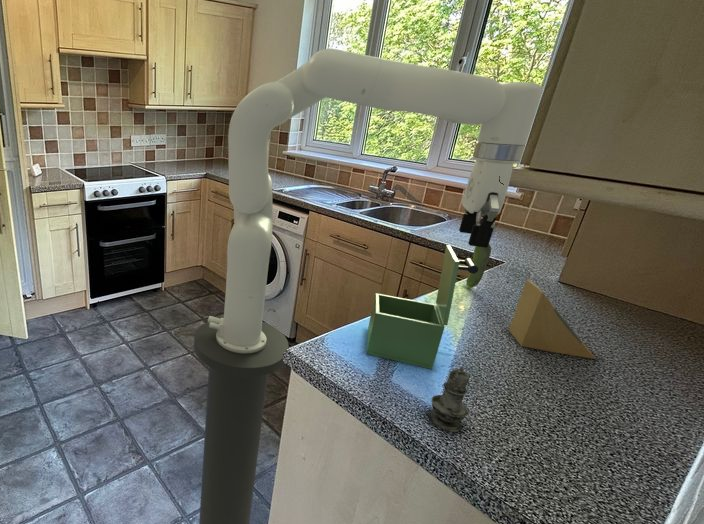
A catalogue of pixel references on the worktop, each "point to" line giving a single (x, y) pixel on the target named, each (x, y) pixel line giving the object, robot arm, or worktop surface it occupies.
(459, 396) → the dark grey rounded piece
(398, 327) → the waste bin
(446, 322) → the bin lid
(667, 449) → the worktop surface
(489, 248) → the vegetable
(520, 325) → the sandwich container
